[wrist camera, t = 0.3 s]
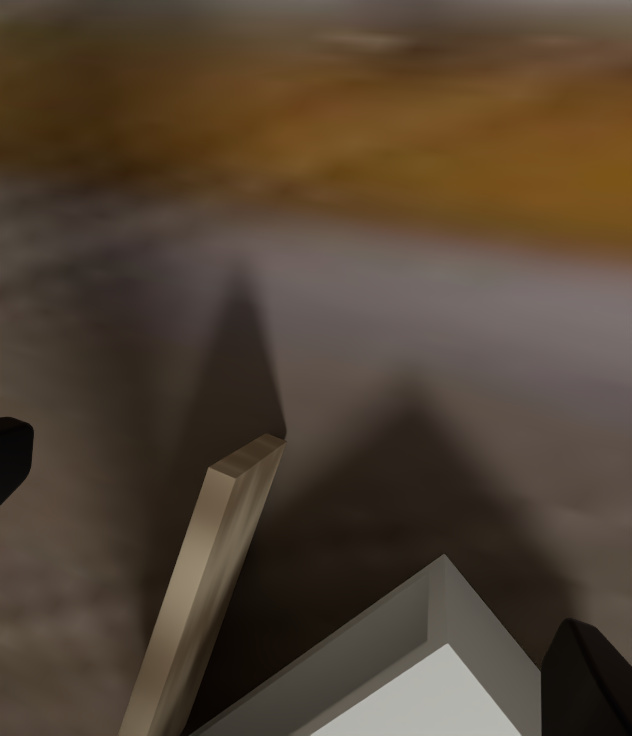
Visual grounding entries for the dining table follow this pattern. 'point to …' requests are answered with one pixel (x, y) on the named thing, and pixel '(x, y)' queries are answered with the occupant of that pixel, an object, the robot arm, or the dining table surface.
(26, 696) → the dining table surface
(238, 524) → the beige plank
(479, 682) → the pale slab
